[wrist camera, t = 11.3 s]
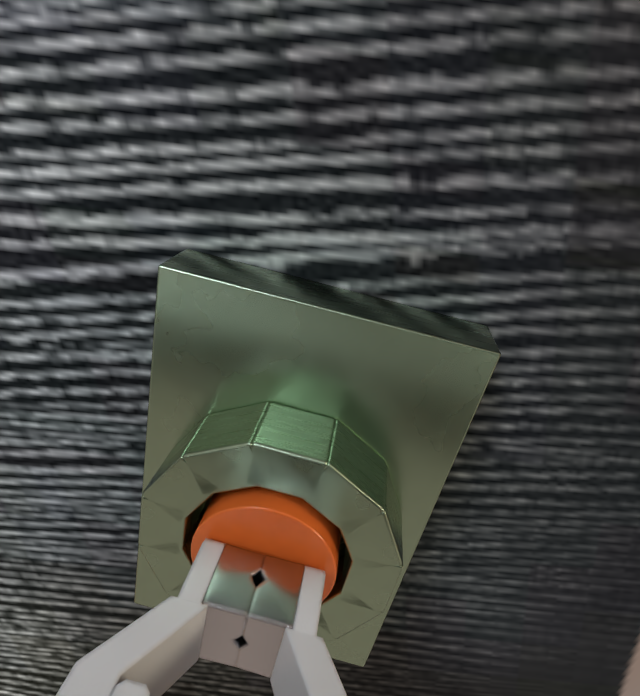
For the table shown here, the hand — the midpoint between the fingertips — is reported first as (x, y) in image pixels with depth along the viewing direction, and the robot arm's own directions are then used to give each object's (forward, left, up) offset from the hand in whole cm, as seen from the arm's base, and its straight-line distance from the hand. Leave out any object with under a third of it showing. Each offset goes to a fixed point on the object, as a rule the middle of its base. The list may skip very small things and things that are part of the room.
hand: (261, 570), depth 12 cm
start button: (0, 0, -2) cm, 2 cm away
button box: (0, 0, -4) cm, 4 cm away
